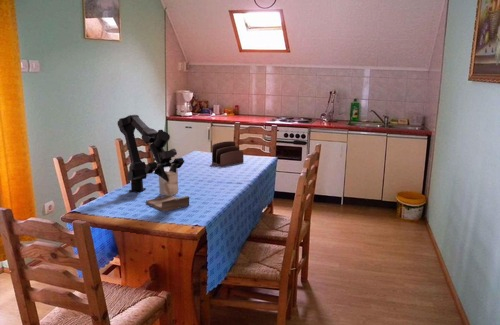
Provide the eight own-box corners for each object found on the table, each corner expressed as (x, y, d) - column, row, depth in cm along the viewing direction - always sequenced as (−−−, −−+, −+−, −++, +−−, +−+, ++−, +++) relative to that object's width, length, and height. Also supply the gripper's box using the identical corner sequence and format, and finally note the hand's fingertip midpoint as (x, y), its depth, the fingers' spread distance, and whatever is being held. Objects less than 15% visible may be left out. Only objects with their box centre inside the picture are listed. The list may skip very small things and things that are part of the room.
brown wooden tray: (146, 203, 206) (145, 194, 205) (170, 197, 215) (170, 189, 214) (163, 211, 194) (163, 203, 193) (189, 205, 204) (189, 196, 203)
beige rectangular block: (164, 192, 201) (163, 172, 199) (171, 191, 204) (171, 171, 201) (170, 195, 198) (169, 174, 195) (177, 193, 200) (177, 173, 198)
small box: (168, 190, 226) (168, 166, 223) (178, 192, 223) (177, 168, 220) (159, 194, 219) (158, 170, 216) (169, 196, 216) (168, 171, 213)
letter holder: (211, 163, 287) (211, 143, 284) (234, 159, 300) (234, 140, 297) (220, 166, 280) (220, 145, 277) (243, 162, 293) (243, 142, 289)
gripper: (147, 145, 192) (160, 174, 187) (181, 141, 204) (195, 167, 199) (139, 159, 199) (152, 187, 194) (173, 154, 212) (186, 180, 206)
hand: (172, 180), depth 198 cm, fingers closed on beige rectangular block, 4 cm apart
